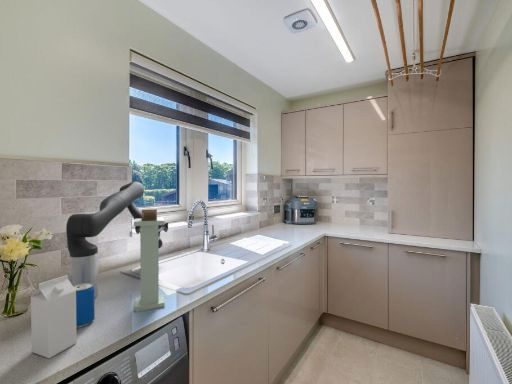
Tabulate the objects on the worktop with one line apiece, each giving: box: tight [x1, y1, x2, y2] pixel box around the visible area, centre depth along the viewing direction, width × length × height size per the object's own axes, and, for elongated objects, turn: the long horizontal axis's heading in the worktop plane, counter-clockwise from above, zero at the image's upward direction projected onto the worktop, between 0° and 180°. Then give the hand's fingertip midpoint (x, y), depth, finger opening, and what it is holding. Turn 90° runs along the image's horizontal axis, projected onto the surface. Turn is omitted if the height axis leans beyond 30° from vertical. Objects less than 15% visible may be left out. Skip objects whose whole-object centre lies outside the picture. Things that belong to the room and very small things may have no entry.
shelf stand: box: [133, 217, 166, 312], centre depth 95 cm, size 9×10×32 cm
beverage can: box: [74, 283, 96, 328], centre depth 82 cm, size 6×6×12 cm
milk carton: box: [30, 274, 77, 359], centre depth 70 cm, size 7×7×19 cm
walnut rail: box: [141, 208, 158, 221], centre depth 99 cm, size 16×5×4 cm, turn 22°
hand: (152, 222), depth 114 cm, fingers open, 8 cm apart
